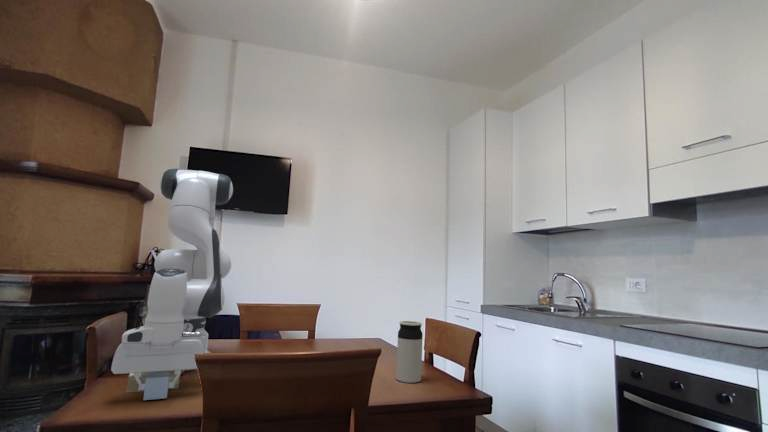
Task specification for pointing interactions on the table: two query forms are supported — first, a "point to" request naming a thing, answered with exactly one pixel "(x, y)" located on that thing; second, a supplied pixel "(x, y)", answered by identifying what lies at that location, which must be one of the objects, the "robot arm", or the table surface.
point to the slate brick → (156, 386)
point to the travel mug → (409, 352)
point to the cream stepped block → (133, 385)
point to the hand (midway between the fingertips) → (156, 389)
